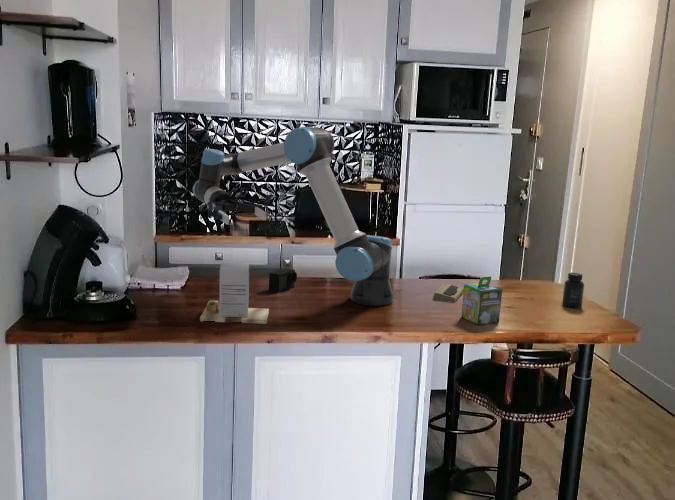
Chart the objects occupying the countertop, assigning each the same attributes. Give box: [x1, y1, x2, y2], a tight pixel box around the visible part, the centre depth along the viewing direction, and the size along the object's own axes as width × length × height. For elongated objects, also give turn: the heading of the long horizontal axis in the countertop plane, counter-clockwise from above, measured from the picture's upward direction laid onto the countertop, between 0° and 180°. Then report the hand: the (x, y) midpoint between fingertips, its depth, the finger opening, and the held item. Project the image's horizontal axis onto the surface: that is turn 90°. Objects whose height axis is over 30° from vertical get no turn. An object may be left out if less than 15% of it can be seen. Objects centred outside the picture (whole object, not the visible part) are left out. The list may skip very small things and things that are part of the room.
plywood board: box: [199, 299, 270, 325], centre depth 204 cm, size 20×12×4 cm, turn 92°
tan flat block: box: [432, 283, 464, 303], centre depth 241 cm, size 16×8×3 cm, turn 158°
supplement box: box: [218, 262, 250, 317], centre depth 202 cm, size 9×9×15 cm
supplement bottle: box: [561, 272, 585, 309], centre depth 235 cm, size 7×7×12 cm
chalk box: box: [461, 276, 503, 326], centre depth 212 cm, size 9×9×15 cm
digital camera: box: [268, 267, 298, 294], centre depth 238 cm, size 10×5×7 cm, turn 150°
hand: (246, 218), depth 213 cm, fingers open, 13 cm apart
